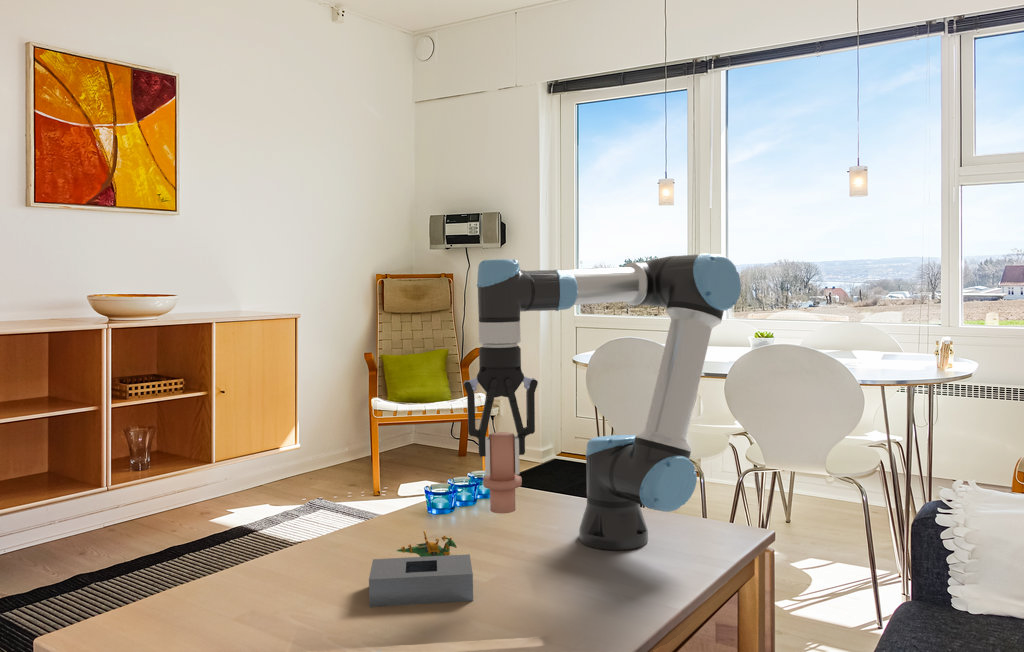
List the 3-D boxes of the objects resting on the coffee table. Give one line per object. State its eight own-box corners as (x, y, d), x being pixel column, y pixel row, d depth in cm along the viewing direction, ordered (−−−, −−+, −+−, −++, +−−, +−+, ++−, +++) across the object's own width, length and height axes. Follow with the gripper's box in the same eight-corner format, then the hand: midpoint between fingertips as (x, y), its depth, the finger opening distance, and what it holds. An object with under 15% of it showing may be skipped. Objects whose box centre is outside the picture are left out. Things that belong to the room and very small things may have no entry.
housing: (470, 585, 144) (469, 554, 144) (473, 607, 134) (472, 573, 134) (373, 590, 142) (373, 559, 142) (369, 613, 132) (368, 579, 132)
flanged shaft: (519, 503, 143) (518, 430, 142) (524, 514, 136) (522, 437, 135) (482, 505, 142) (480, 431, 142) (485, 516, 135) (483, 439, 135)
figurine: (458, 571, 152) (457, 530, 151) (397, 577, 149) (396, 535, 149) (455, 565, 155) (455, 526, 154) (396, 571, 152) (395, 531, 152)
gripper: (545, 342, 142) (547, 466, 144) (450, 345, 141) (453, 470, 142) (551, 345, 135) (553, 476, 136) (451, 348, 133) (454, 480, 134)
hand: (502, 472), depth 139 cm, fingers closed on flanged shaft, 5 cm apart
